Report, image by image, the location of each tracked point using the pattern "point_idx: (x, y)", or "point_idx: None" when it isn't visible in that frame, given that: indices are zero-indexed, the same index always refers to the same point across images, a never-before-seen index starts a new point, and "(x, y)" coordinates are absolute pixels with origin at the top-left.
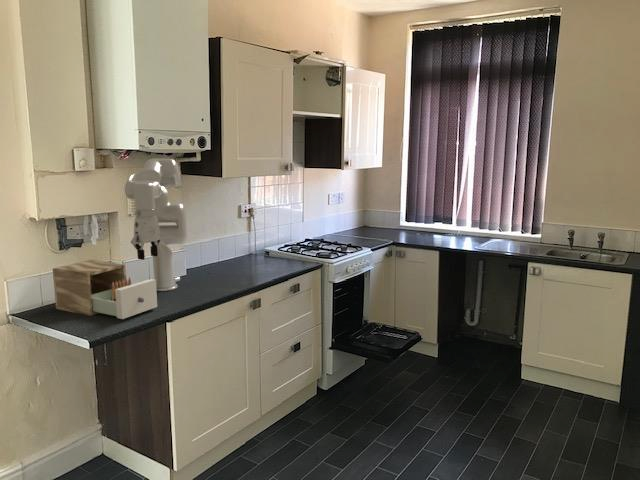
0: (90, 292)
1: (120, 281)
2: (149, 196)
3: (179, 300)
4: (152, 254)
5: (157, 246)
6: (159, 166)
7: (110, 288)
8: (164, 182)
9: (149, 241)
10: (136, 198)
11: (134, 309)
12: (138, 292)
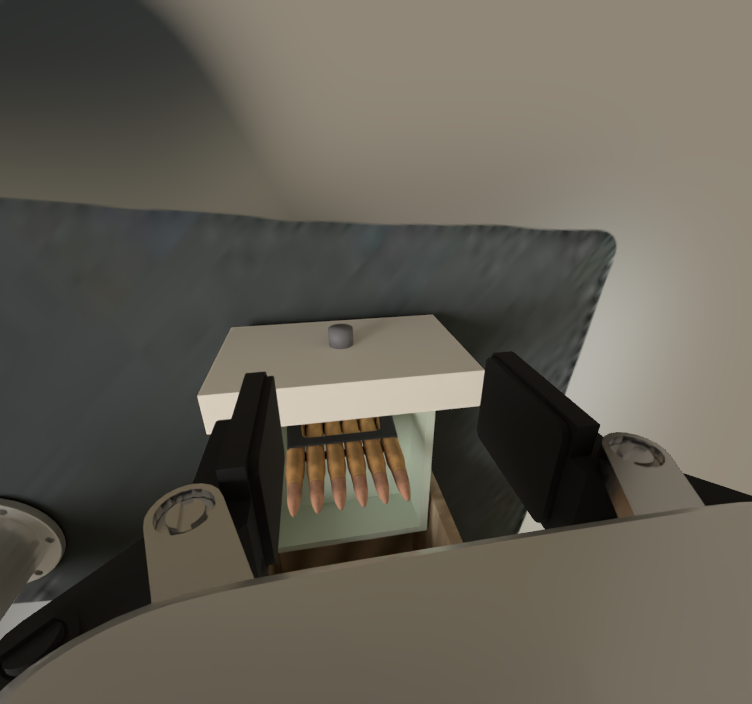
0: (443, 518)
1: (359, 497)
2: None
3: (59, 350)
4: (280, 444)
5: (193, 485)
6: None
7: (272, 572)
8: None
9: (628, 524)
10: None
11: (371, 327)
12: (350, 360)
